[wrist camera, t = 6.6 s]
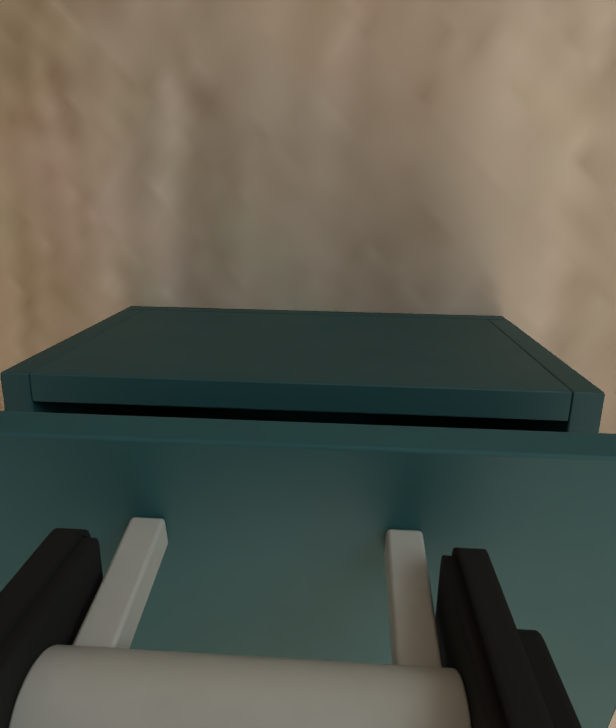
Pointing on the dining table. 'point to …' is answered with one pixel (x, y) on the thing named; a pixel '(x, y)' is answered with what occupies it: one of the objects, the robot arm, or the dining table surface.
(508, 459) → the case lid
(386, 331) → the case
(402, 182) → the dining table surface
